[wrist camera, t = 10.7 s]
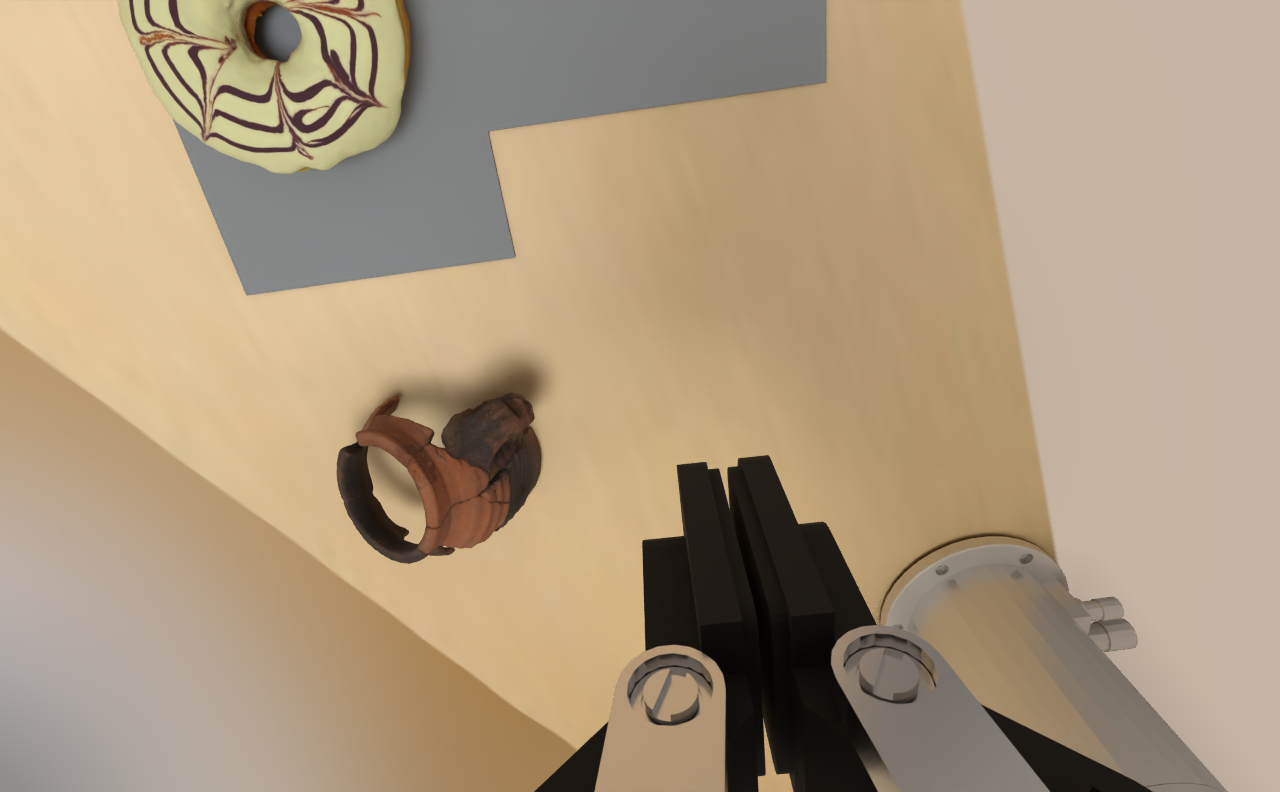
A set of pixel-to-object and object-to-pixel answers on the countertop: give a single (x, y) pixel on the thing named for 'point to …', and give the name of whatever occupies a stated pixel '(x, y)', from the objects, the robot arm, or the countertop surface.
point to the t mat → (486, 123)
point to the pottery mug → (445, 475)
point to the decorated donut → (276, 76)
